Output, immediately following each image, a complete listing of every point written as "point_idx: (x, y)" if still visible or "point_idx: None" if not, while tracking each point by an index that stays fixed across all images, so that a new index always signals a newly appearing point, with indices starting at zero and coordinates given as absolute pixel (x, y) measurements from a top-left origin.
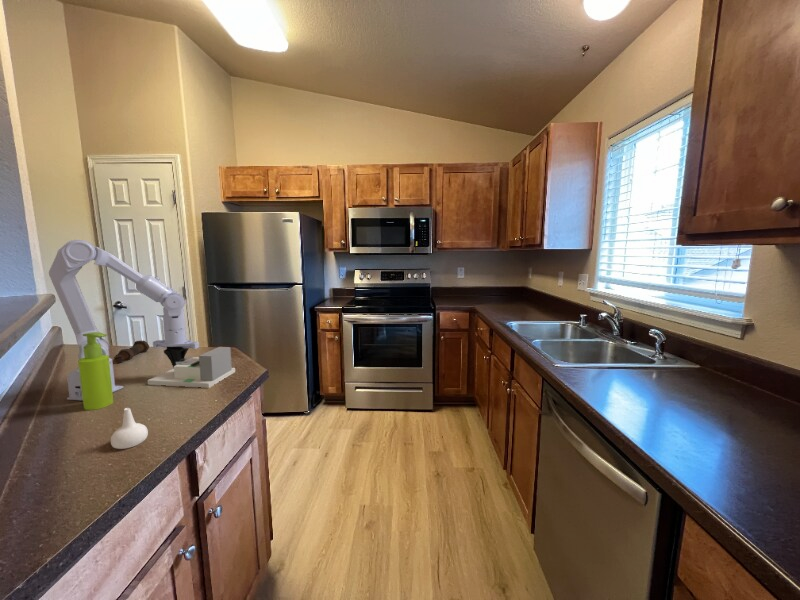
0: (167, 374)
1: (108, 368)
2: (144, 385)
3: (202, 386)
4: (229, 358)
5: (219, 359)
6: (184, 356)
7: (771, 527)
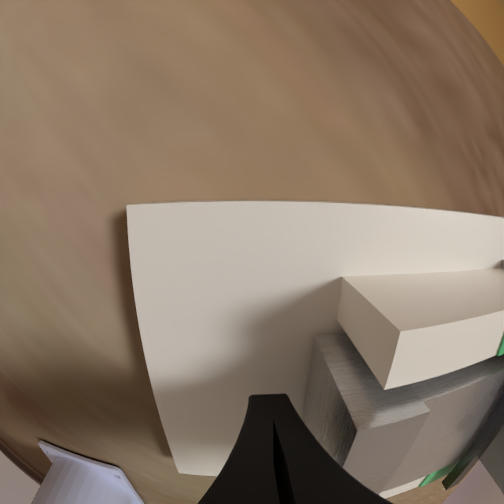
0: (209, 419)
1: None
2: (172, 456)
3: None
4: None
5: None
6: (342, 470)
7: None
